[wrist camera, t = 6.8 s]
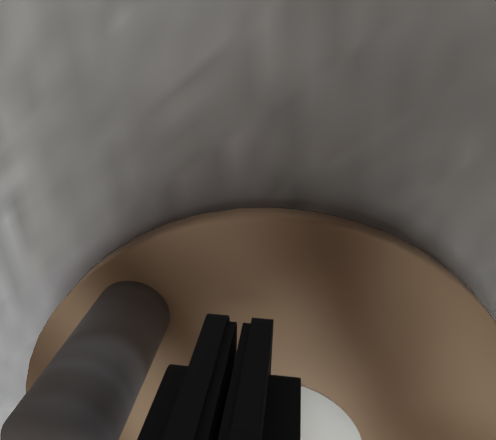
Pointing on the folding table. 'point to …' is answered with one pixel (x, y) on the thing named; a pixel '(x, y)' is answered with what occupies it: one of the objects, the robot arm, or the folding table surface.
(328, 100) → the folding table surface
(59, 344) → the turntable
